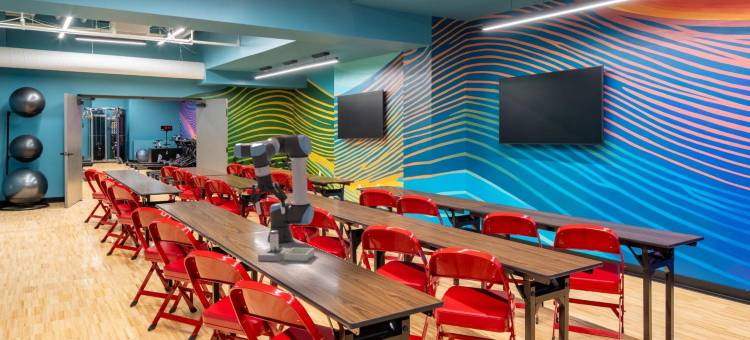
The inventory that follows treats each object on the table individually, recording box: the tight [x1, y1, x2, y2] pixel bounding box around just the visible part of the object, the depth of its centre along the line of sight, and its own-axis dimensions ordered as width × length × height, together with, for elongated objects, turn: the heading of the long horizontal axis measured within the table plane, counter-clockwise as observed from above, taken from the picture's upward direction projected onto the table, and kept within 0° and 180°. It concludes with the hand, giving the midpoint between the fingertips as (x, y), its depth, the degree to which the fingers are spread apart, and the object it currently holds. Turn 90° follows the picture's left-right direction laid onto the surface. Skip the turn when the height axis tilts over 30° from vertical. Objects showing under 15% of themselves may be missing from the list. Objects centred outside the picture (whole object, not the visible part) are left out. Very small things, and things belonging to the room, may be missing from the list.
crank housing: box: [257, 245, 291, 262], centre depth 258 cm, size 16×12×5 cm
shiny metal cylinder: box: [269, 230, 280, 253], centre depth 258 cm, size 4×4×14 cm
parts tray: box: [283, 247, 315, 263], centre depth 255 cm, size 14×12×4 cm
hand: (271, 213), depth 251 cm, fingers open, 13 cm apart
